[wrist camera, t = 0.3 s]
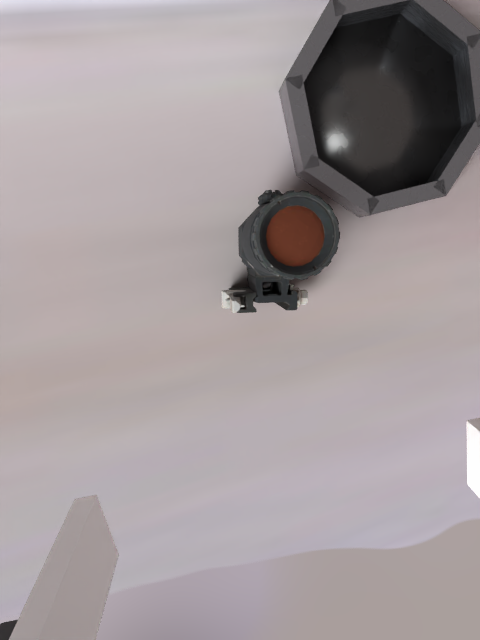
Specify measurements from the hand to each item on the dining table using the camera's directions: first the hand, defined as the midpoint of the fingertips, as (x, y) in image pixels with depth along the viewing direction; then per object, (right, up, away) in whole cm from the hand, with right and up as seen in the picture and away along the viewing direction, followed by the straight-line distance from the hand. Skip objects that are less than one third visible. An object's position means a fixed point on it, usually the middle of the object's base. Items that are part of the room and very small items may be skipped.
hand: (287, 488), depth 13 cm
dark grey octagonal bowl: (+12, +26, +23) cm, 36 cm away
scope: (0, +13, +24) cm, 27 cm away
